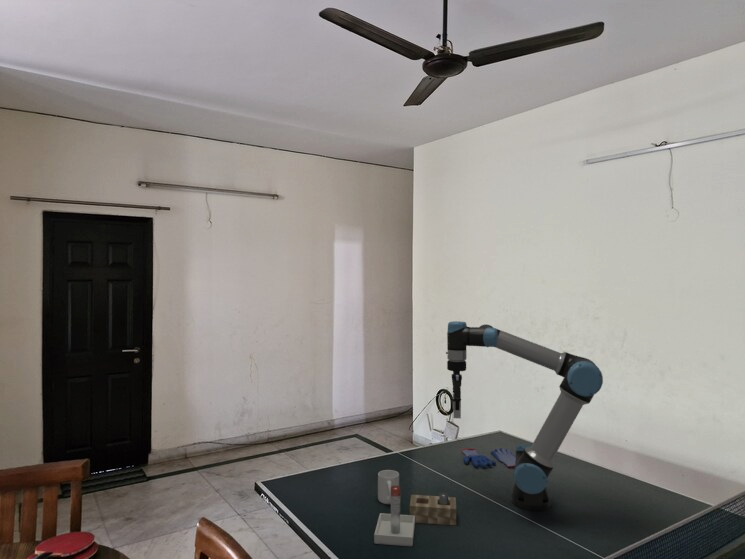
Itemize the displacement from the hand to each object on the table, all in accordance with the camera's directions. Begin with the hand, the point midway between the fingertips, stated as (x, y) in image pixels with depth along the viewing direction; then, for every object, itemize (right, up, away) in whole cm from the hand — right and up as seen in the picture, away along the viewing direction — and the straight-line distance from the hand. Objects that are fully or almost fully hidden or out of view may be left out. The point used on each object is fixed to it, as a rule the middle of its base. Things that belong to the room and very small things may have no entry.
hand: (456, 413), depth 197 cm
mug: (-27, -37, +3) cm, 46 cm away
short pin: (-7, -37, -11) cm, 39 cm away
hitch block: (-11, -37, -10) cm, 39 cm away
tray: (-25, -36, -22) cm, 50 cm away
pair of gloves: (+27, -38, +52) cm, 70 cm away
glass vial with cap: (-25, -36, -22) cm, 49 cm away
